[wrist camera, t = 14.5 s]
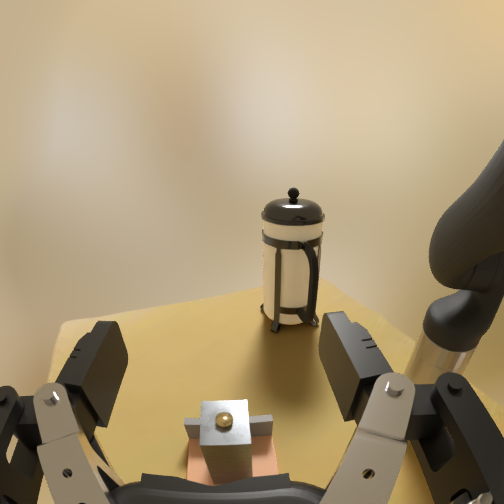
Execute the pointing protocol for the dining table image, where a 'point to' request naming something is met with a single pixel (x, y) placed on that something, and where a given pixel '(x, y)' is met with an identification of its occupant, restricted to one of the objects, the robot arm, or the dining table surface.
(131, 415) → the dining table surface
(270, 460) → the dock
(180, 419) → the dining table surface
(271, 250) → the coffee press
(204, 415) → the block
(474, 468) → the robot arm
